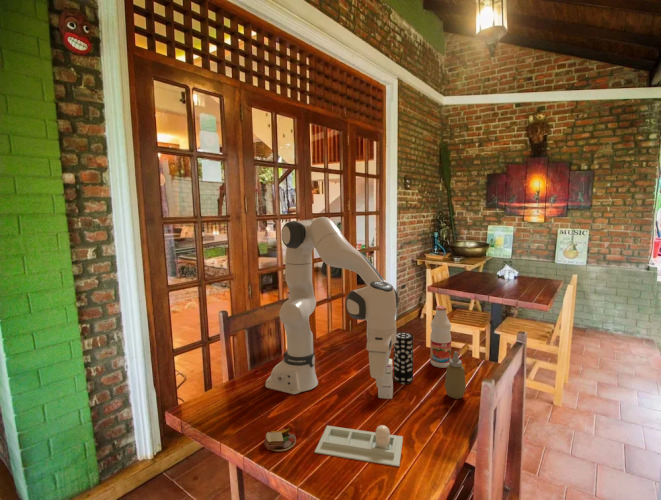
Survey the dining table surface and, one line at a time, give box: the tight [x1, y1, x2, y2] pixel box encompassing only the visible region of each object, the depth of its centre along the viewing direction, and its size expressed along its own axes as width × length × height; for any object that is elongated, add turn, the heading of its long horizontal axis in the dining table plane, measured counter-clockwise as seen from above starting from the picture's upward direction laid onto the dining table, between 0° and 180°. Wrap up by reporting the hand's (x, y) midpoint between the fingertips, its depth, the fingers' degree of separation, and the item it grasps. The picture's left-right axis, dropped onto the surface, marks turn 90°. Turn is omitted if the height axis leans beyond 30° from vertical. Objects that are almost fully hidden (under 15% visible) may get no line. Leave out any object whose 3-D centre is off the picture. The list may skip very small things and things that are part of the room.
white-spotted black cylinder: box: [393, 331, 414, 385], centre depth 158 cm, size 8×8×20 cm
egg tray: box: [314, 425, 404, 468], centre depth 116 cm, size 26×14×2 cm, turn 74°
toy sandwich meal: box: [263, 427, 297, 453], centre depth 118 cm, size 9×10×4 cm
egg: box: [375, 424, 391, 450], centre depth 114 cm, size 4×4×7 cm
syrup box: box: [377, 357, 394, 400], centre depth 146 cm, size 6×6×14 cm
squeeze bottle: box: [444, 351, 467, 400], centre depth 144 cm, size 8×8×18 cm
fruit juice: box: [429, 305, 452, 369], centre depth 173 cm, size 9×9×28 cm
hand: (381, 379), depth 112 cm, fingers open, 8 cm apart
